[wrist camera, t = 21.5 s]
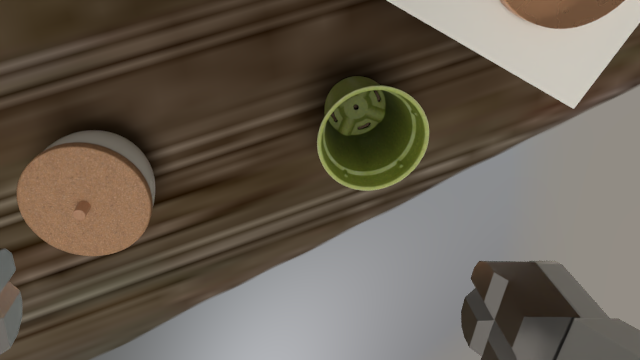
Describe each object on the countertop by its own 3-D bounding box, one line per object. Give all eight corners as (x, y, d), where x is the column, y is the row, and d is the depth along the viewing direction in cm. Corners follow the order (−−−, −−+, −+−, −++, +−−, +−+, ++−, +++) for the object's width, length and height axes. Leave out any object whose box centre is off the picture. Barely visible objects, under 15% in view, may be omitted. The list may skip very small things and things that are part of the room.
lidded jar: (157, 112, 47) (137, 153, 39) (171, 210, 52) (155, 265, 44) (37, 114, 46) (-10, 157, 38) (62, 214, 51) (25, 271, 43)
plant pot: (416, 124, 51) (444, 160, 43) (332, 165, 52) (346, 208, 44) (380, 40, 47) (405, 65, 39) (290, 87, 48) (297, 120, 40)
